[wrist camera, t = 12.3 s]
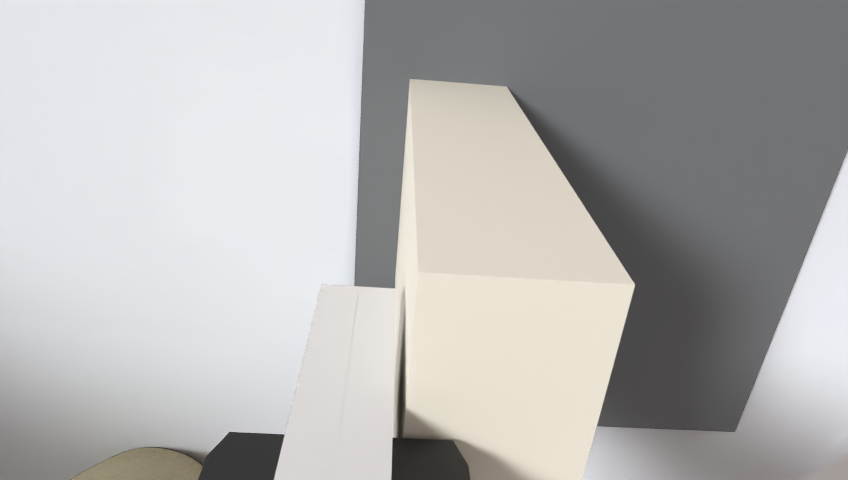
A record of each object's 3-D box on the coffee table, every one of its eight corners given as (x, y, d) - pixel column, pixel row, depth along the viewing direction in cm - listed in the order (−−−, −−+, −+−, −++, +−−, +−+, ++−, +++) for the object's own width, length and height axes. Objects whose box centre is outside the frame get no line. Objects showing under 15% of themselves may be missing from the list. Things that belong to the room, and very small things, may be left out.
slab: (395, 276, 22) (388, 601, 12) (409, 78, 19) (418, 272, 8) (480, 281, 22) (550, 606, 12) (508, 86, 19) (638, 285, 9)
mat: (350, 409, 25) (349, 415, 25) (376, -270, 16) (375, -275, 15) (730, 425, 26) (734, 431, 26) (976, -204, 17) (989, -206, 16)
